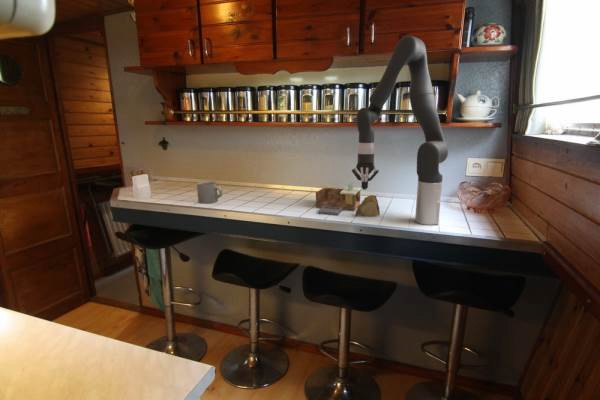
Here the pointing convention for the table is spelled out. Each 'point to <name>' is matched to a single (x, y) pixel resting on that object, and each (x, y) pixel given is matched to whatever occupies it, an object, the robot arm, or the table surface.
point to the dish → (330, 210)
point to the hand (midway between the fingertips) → (364, 189)
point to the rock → (368, 207)
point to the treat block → (348, 199)
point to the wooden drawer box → (336, 199)
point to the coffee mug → (208, 192)
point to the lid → (350, 190)
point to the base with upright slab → (141, 186)
